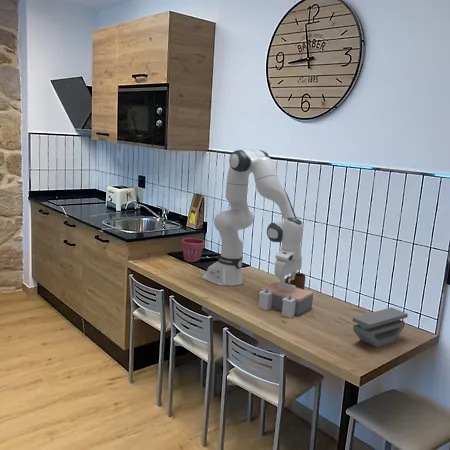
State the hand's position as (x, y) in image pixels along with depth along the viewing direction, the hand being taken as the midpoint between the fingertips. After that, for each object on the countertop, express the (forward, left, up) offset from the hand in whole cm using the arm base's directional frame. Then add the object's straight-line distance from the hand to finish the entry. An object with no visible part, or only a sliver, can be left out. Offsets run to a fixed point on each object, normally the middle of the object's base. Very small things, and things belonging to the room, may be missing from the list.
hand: (286, 282), depth 222 cm
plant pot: (-79, +27, -12) cm, 84 cm away
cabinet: (0, -2, -12) cm, 12 cm away
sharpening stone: (+46, -7, -12) cm, 48 cm away
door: (0, -2, -5) cm, 6 cm away
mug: (-7, +21, -12) cm, 26 cm away
